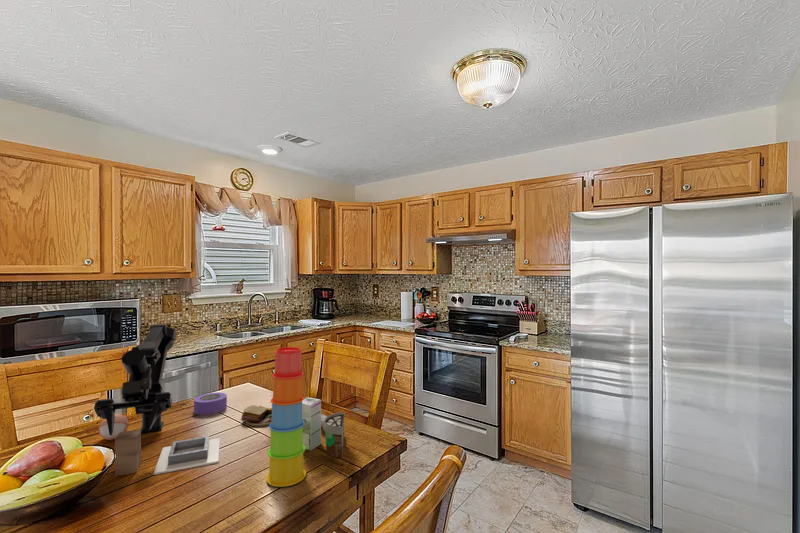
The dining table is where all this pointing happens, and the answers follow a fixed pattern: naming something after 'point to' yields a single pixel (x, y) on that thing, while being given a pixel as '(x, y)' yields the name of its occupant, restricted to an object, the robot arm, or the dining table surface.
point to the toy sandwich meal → (257, 416)
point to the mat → (212, 459)
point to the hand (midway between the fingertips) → (130, 432)
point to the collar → (190, 455)
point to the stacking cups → (287, 420)
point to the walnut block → (128, 452)
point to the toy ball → (119, 426)
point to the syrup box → (311, 422)
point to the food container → (334, 435)
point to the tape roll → (210, 403)
